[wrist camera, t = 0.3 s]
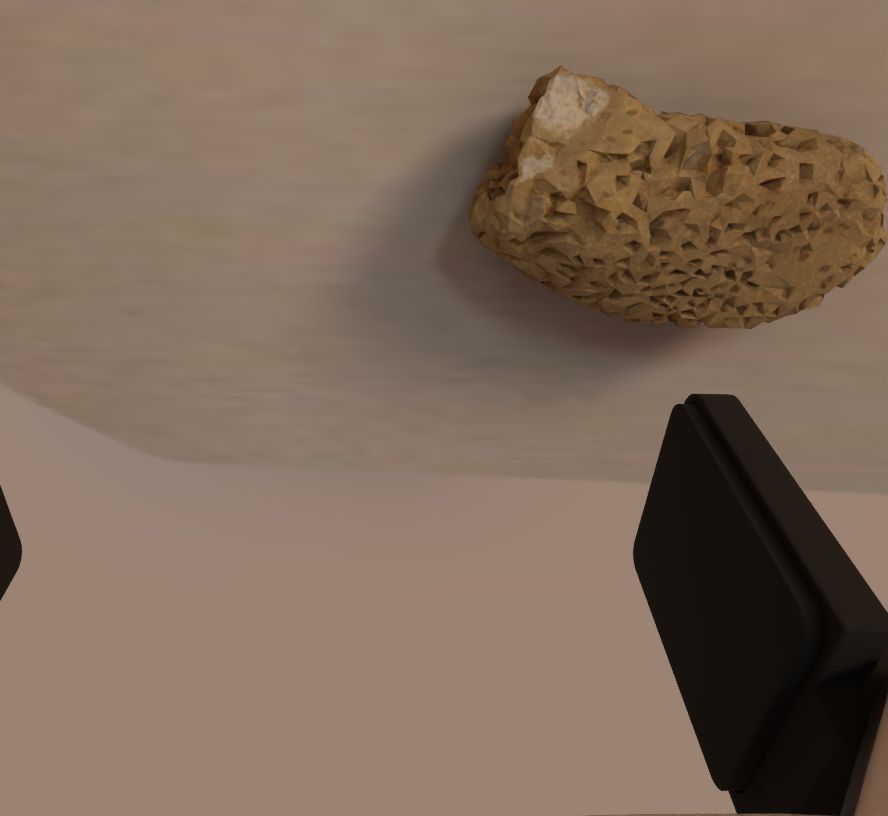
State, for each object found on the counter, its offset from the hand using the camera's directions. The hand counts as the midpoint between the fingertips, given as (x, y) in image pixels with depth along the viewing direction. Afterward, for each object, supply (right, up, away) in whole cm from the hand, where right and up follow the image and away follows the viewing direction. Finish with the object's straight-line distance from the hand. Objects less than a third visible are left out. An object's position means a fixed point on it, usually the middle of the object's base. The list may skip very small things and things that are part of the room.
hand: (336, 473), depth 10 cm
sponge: (+13, +13, +30) cm, 35 cm away
